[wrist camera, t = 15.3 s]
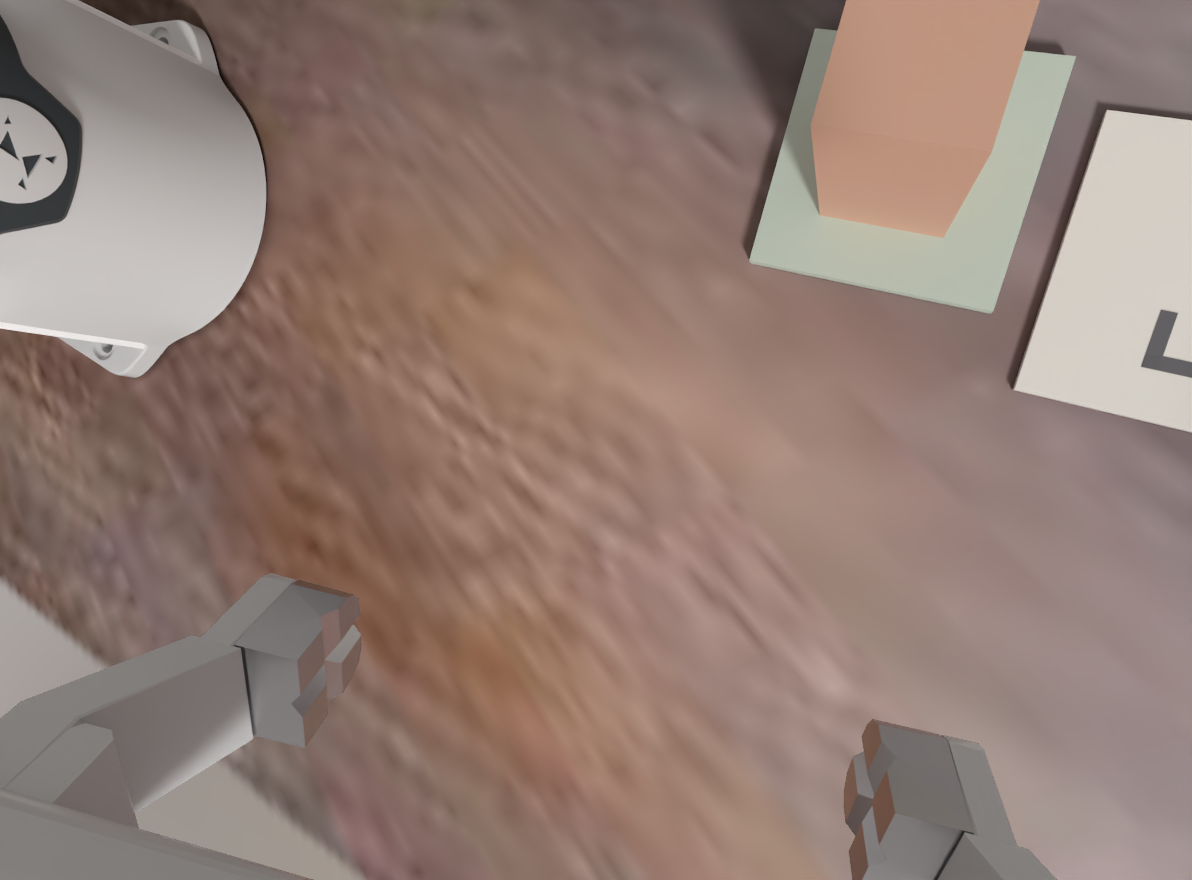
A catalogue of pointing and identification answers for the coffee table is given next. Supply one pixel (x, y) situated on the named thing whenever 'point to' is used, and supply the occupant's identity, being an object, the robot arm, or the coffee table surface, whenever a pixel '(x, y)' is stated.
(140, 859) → the robot arm
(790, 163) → the coaster
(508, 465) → the coffee table surface
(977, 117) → the block
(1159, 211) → the tile
